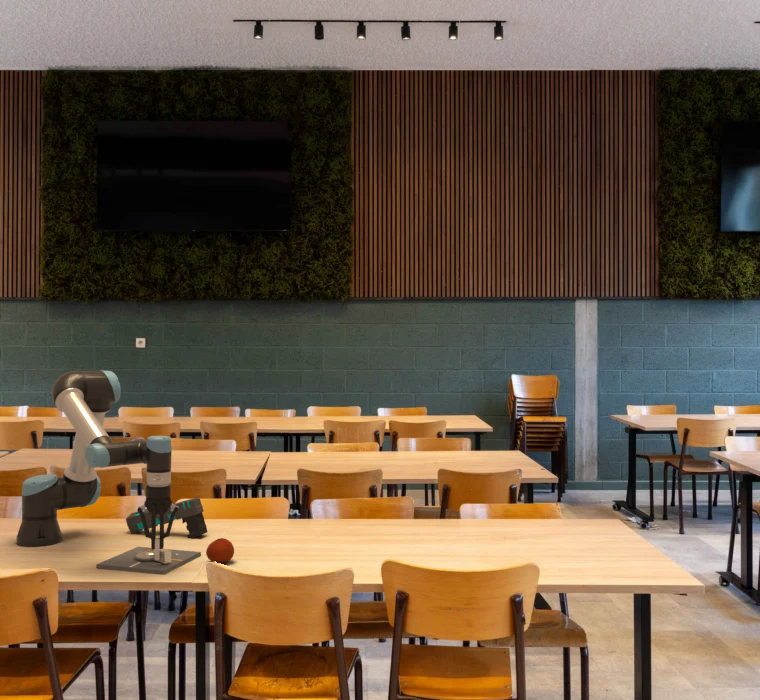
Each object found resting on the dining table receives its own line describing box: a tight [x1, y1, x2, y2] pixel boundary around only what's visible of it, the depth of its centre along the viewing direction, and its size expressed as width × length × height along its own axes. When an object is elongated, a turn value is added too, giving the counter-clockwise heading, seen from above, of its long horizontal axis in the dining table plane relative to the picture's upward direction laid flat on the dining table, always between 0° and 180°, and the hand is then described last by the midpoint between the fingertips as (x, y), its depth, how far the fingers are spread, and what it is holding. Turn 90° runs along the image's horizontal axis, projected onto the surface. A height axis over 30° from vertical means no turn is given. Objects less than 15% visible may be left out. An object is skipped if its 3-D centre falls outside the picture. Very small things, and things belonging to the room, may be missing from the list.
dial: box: [134, 547, 171, 564], centre depth 265 cm, size 16×10×4 cm, turn 45°
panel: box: [96, 546, 202, 575], centre depth 267 cm, size 24×24×1 cm
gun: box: [125, 497, 209, 539], centre depth 305 cm, size 6×29×15 cm, turn 77°
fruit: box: [205, 537, 235, 564], centre depth 267 cm, size 9×9×8 cm
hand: (157, 559), depth 259 cm, fingers closed
